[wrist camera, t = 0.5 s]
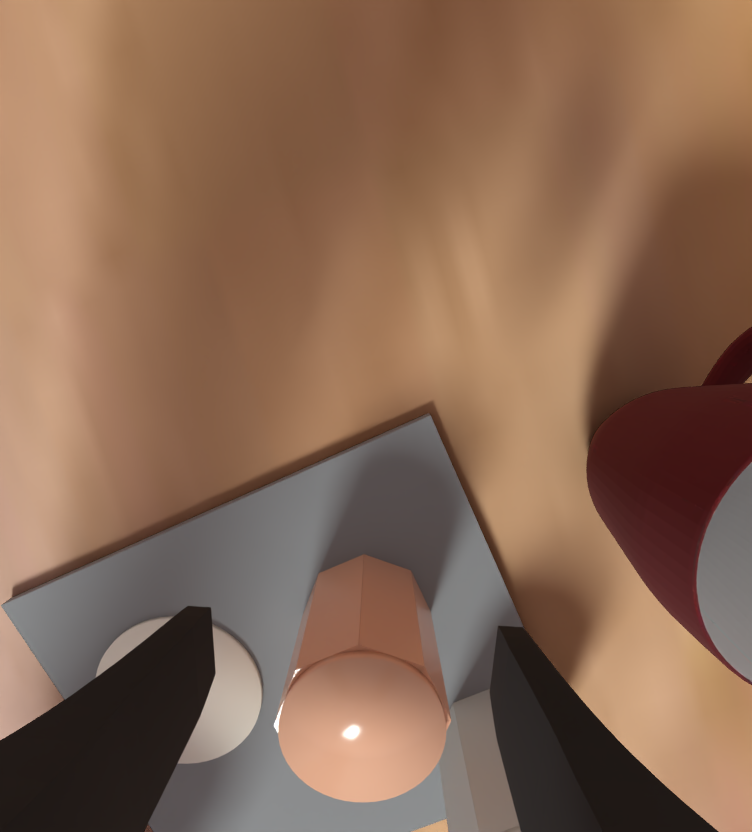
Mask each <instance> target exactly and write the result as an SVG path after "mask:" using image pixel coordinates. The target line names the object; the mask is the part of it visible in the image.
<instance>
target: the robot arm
mask: <svg viewBox="0 0 752 832" xmlns="http://www.w3.org/2000/svg"><path fill="white" fill-rule="evenodd" d="M215 674H216V671H215V656H214V642H213V627H212V613H211V607H198V606H187V607H185V608H184V609H183V610H181V611H180V612H179V613H178V614H176V615H175V616H174V617H173V618H171V619H170V620H169V621H168V622H166V623H165V624H164V625H163V626H162V627H160V628H159V629H158V630H157V631H155V632H154V633H153V634H152V635H150V636H149V637H148V638H147V639H146V640H144V641H143V642H142V643H140V644H139V645H138V646H137V647H135V648H134V649H133V650H132V651H130V652H129V653H128V654H127V655H125V656H124V657H123V658H121V659H120V660H119V661H118V662H116V663H115V664H114V665H112V666H111V667H110V668H108V669H107V670H105V671H104V672H103V673H101V674H100V675H99V676H97V677H96V678H95V679H93V680H92V681H90V682H89V683H88V684H86V685H85V686H84V687H82V688H81V689H79V690H78V691H77V692H75V693H74V694H73V695H71V696H70V697H68V698H67V699H65V700H64V701H62V702H61V703H59V704H58V705H56V706H55V707H53V708H52V709H50V710H49V711H47V712H46V713H44V714H43V715H41V716H39V717H38V718H36V719H35V720H33V721H32V722H30V723H28V724H27V725H25V726H24V727H22V728H20V729H19V730H17V731H16V732H14V733H12V734H11V735H9V736H7V737H6V738H4V739H2V740H0V832H144V831H145V829H146V827H147V825H148V822H149V820H150V818H151V816H152V814H153V812H154V810H155V808H156V806H157V804H158V802H159V800H160V798H161V796H162V794H163V792H164V790H165V788H166V786H167V784H168V782H169V780H170V778H171V776H172V774H173V772H174V769H175V767H176V765H177V763H178V761H179V759H180V757H181V755H182V753H183V751H184V749H185V747H186V745H187V743H188V741H189V739H190V737H191V735H192V733H193V731H194V729H195V727H196V724H197V722H198V720H199V718H200V716H201V713H202V710H203V708H204V705H205V702H206V700H207V697H208V694H209V691H210V688H211V686H212V683H213V680H214V677H215ZM489 693H490V700H491V706H492V713H493V720H494V726H495V732H496V738H497V742H498V746H499V750H500V754H501V758H502V762H503V766H504V769H505V773H506V777H507V781H508V785H509V788H510V792H511V796H512V800H513V804H514V807H515V811H516V815H517V819H518V823H519V826H520V830H521V832H718V831H717V830H716V829H715V828H713V827H712V826H711V825H710V824H709V823H708V822H706V821H705V820H704V819H703V818H702V817H700V816H699V815H698V814H697V813H696V812H695V811H693V810H692V809H691V808H690V807H689V806H687V805H686V804H685V803H684V802H683V801H682V800H680V799H679V798H678V797H677V796H676V795H675V794H674V793H673V792H672V791H670V790H669V789H668V788H667V787H666V786H665V785H664V784H663V783H662V782H660V781H659V780H658V779H657V778H656V777H655V776H654V775H653V774H652V773H651V772H650V771H649V770H648V769H647V768H646V767H645V766H644V765H643V764H642V763H641V762H639V761H638V760H637V759H636V758H635V757H634V756H633V755H632V754H631V753H630V752H629V751H628V750H627V749H626V748H625V747H624V746H623V745H622V744H621V743H620V742H619V741H618V740H617V739H616V738H615V736H614V735H613V734H612V733H611V732H610V731H609V730H608V729H607V728H606V727H605V726H604V725H603V724H602V722H601V721H600V720H599V719H598V718H597V717H596V716H595V715H594V714H593V712H592V711H591V710H590V709H589V708H588V707H587V706H586V704H585V703H584V702H583V701H582V700H581V699H580V697H579V696H578V695H577V694H576V693H575V691H574V690H573V689H572V688H571V687H570V686H569V684H568V683H567V682H566V681H565V680H564V678H563V677H562V676H561V675H560V673H559V672H558V671H557V670H556V668H555V667H554V666H553V665H552V663H551V662H550V661H549V660H548V658H547V657H546V656H545V654H544V653H543V652H542V651H541V649H540V648H539V647H538V645H537V644H536V643H535V642H534V640H533V639H532V638H531V636H530V635H529V634H528V633H527V631H526V630H525V629H524V628H523V627H512V626H498V629H497V637H496V645H495V653H494V661H493V669H492V676H491V684H490V692H489Z"/></svg>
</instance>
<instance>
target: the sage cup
mask: <svg viewBox="0 0 752 832" xmlns="http://www.w3.org/2000/svg"><path fill="white" fill-rule="evenodd" d="M489 692H490V689H488V690H485V691H483V692H480V693H478V694H475V695H472V696H470V697H467V698H465V699H462V700H459V701H457V702H454V703H453V704H452V706H451V709H450V716H451V723H450V725H449V727H448V729H447V731H446V742H445V746H444V750H443V753H442V755H441V758H440V760H439V768H440V775H441V782H442V789H443V796H444V803H445V810H446V817H447V824H448V831H449V832H521V830H520V826H519V823H518V819H517V815H516V811H515V807H514V804H513V800H512V796H511V792H510V788H509V785H508V781H507V777H506V773H505V769H504V766H503V762H502V758H501V754H500V750H499V746H498V742H497V738H496V732H495V726H494V720H493V713H492V706H491V700H490V693H489Z"/></svg>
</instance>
